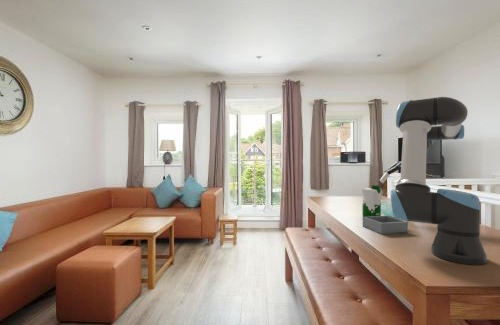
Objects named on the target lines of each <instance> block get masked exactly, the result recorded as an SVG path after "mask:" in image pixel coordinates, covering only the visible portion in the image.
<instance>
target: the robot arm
mask: <svg viewBox="0 0 500 325" xmlns="http://www.w3.org/2000/svg"><path fill="white" fill-rule="evenodd" d="M467 117H468V108H467V106H466V105H465V104H464V103H463V102H461V101H460V100H459V99H456V98H453V97H448V96H438V97H432V98H423V99H415V100H414V99H413V100H412V99H410V100H406V101H402V102H401V103H399V104H398V106H397V109H396V115H395V125H396V128H398V129H399V131H400V132H401V133H402V134H403V135H402V146H401V147H402V148H401V161H399V160H396V161H395V162H394V163H393V164H392V165H390V166H389V167H388V168H385V169H384V171H383V172H384V174H383V175H382V176H381V178H380V179H379V181H380V183H382V184H384V183H385V182H386V181H387V179H388V178H389V177H390V175H391V174H393V173H395V172H397V171H400V177H399V178H398V179H397V180H396V181H395V182H396V185H395V189H392V190H390V203H391V211H392V214H393V218H396V219H399V220H402V221H406V222H413V223H423V224H431V225H436V226H437V227H436V228H437V229H436V230H437V231H436V234H435V237H434V239H433V242H432V244H431V247H430V250H431V254H432V255H433V256H435V257H437V258H440V259H442V260H444V261H445V260H446V261H450V262H453V263H458V264H464V265H474V266H476V265H477V266H478V265H484V264H487V253H486V252H485V248H484V245H483V244H482V240H481V238H480V236H481V235H480V234H481V230H480V228H481V227H480V225H481V224H480V220H481V219H480V218H481V217H480V216H481V214H480V212H481V210H482V208H481V205H480V197H478V195H476V194H473V193H470V192H466V191H462V190H461V191H460V190H455V189H449V188H447V189H445V188H438V189H437V190H436V192H432V191H431V187H430V186H429V185H428V184H427V151H428V150H429V149H430V148H432V147H431V146H433V144H434V143H435V141H439V140H440V141H441V140H443V141H444V140H461V139H464V138H465V125H464V124H463V123H464V122H465V121H466V119H467Z"/></svg>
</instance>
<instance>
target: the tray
mask: <svg viewBox="0 0 500 325" xmlns="http://www.w3.org/2000/svg"><path fill="white" fill-rule="evenodd" d="M408 225H409V221H405V220H399V219H396V218H395V217H394V216H393V217H391V216H389V215H381V216H370V217H363V216H362V228H366V229H367V230H370V231H372V232H375V233H377V234H379V233H380V234H379V235H391V234H407V233H409V229H408V228H409V226H408Z"/></svg>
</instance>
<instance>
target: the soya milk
mask: <svg viewBox="0 0 500 325" xmlns="http://www.w3.org/2000/svg"><path fill="white" fill-rule="evenodd" d="M382 192H383V191H382V188H380V185H378V184H375V185H374V184H372V185H371V187H367V188H361V194H362V195H361V196H362V218H363V217H370V216H382V214H381V213H382V209H381V208H382V207H381V206H382V203H381V202H382Z"/></svg>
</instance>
